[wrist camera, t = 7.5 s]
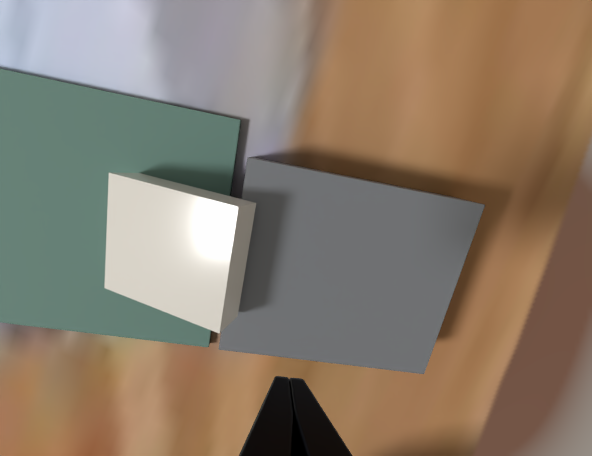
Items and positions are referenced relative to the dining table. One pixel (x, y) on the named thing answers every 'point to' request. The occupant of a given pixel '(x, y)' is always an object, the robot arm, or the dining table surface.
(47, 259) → the mat
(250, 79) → the dining table surface
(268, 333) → the plate
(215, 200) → the tile
